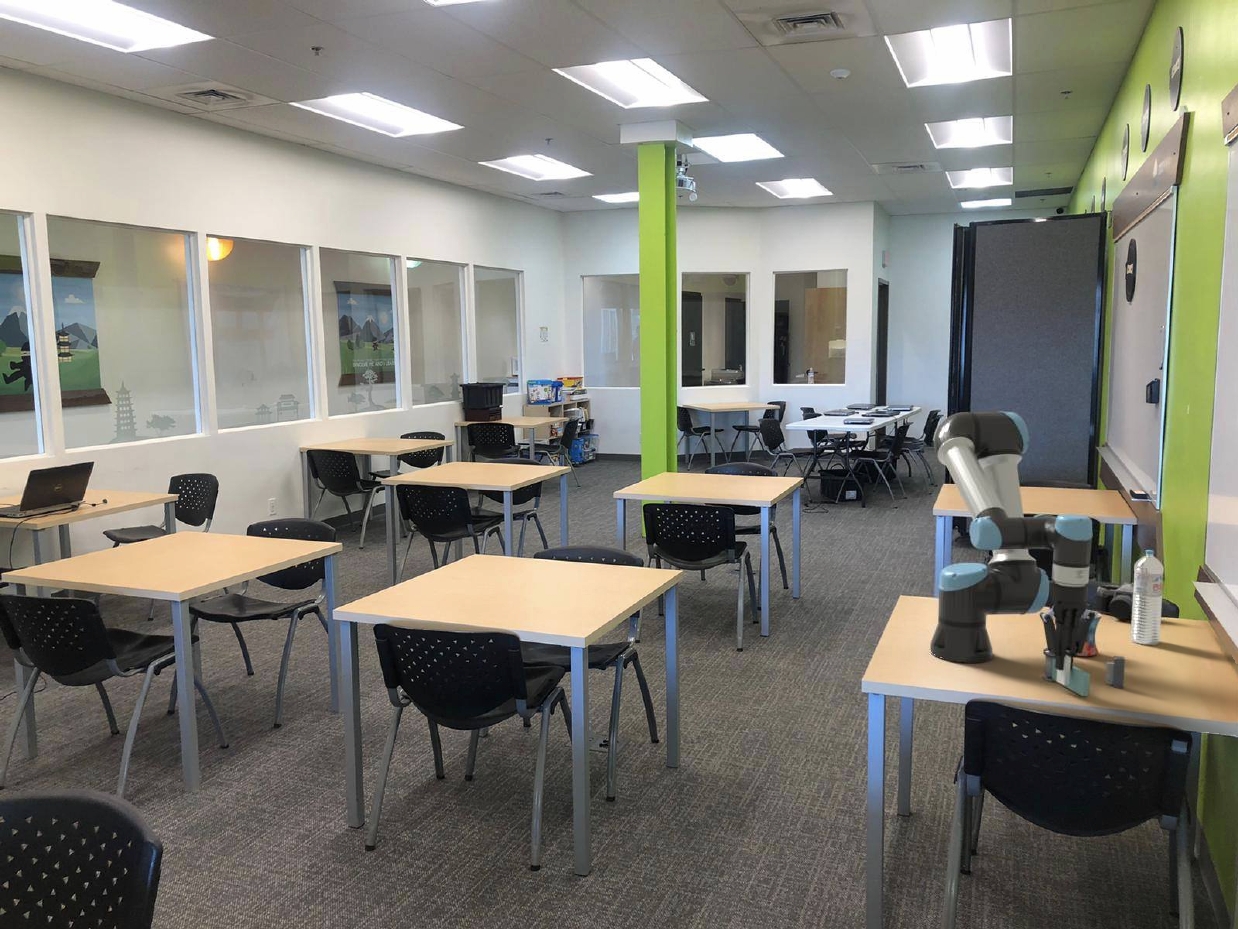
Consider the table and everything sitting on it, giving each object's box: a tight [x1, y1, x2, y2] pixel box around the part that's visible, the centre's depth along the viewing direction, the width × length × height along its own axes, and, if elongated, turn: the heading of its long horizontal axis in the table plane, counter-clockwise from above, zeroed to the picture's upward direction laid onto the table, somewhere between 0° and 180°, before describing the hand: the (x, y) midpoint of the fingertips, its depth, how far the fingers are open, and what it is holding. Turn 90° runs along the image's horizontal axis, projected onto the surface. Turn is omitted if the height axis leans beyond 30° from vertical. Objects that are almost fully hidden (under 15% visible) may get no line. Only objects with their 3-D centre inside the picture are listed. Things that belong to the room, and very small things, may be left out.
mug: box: [1076, 609, 1103, 657], centre depth 242 cm, size 12×9×11 cm
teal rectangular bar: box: [1044, 655, 1091, 697], centre depth 217 cm, size 14×3×5 cm, turn 8°
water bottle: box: [1130, 549, 1165, 646], centre depth 248 cm, size 7×7×25 cm
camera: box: [1095, 582, 1134, 621], centre depth 271 cm, size 16×10×10 cm, turn 49°
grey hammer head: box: [1042, 648, 1058, 683], centre depth 222 cm, size 4×4×7 cm
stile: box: [1105, 655, 1126, 689], centre depth 217 cm, size 3×3×7 cm
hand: (1062, 683), depth 214 cm, fingers closed
